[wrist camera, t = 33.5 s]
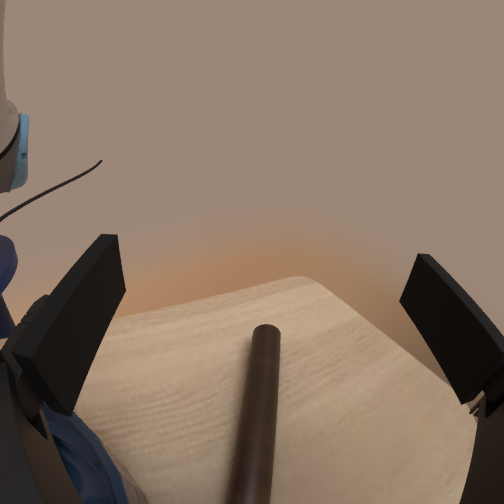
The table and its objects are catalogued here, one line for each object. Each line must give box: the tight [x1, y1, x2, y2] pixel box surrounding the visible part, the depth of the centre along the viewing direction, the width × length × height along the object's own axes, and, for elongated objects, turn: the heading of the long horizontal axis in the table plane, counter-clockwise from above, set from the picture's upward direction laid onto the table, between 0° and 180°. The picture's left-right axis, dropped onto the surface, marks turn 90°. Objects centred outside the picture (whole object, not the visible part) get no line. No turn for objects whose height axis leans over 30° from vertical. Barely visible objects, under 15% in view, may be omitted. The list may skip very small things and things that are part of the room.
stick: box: [226, 324, 281, 504], centre depth 17 cm, size 3×3×20 cm
